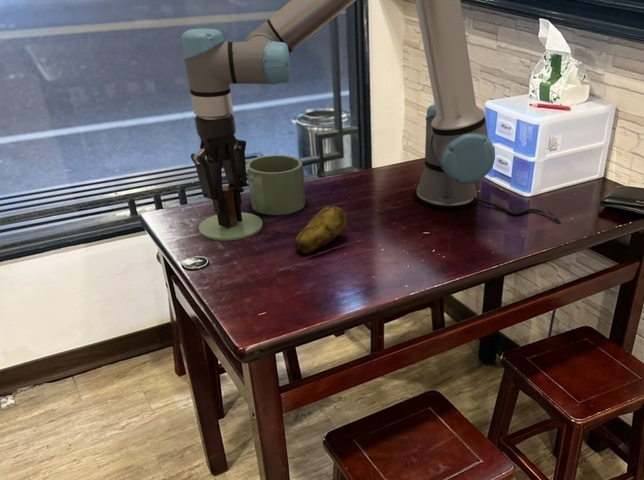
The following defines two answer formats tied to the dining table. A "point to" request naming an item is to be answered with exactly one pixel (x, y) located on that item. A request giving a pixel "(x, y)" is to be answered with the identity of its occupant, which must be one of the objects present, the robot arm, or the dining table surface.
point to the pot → (276, 184)
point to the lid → (230, 222)
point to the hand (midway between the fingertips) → (230, 222)
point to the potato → (321, 229)
